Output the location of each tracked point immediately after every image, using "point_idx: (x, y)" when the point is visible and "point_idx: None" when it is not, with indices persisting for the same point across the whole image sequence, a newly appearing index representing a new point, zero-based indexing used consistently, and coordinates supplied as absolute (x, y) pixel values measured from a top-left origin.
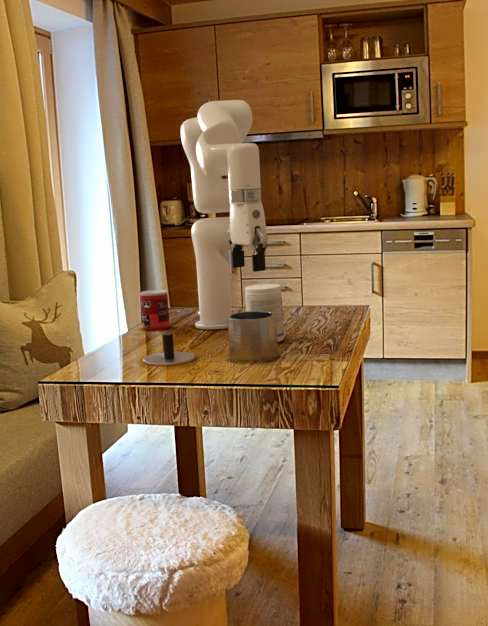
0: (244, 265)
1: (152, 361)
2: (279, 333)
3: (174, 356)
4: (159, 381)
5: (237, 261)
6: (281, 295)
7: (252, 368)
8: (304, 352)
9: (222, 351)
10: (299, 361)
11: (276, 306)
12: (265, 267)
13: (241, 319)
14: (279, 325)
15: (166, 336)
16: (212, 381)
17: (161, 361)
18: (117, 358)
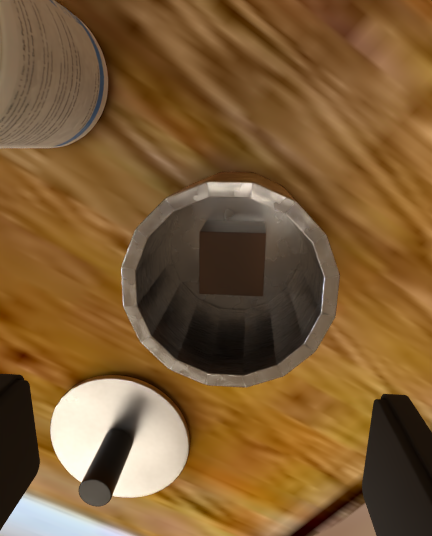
0: (25, 382)
1: (134, 486)
2: (94, 49)
3: (119, 428)
4: (281, 524)
5: (7, 477)
6: None
7: (342, 316)
8: (290, 74)
9: (96, 272)
10: (381, 165)
11: (38, 25)
12: (412, 404)
13: (277, 367)
14: (80, 38)
15: (110, 499)
16: None
17: (150, 473)
18: None
